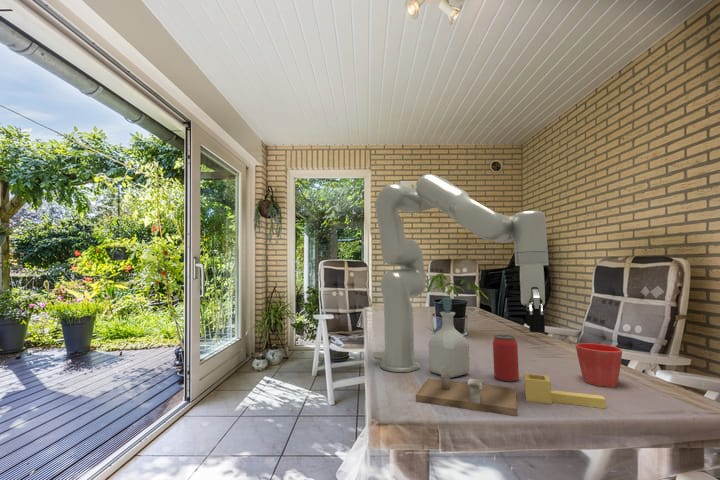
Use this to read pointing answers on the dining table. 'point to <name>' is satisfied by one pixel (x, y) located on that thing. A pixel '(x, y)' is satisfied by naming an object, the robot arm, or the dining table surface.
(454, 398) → the bracket base
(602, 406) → the link
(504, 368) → the beer can
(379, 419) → the dining table surface
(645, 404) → the dining table surface
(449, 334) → the soap bottle
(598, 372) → the flower pot
